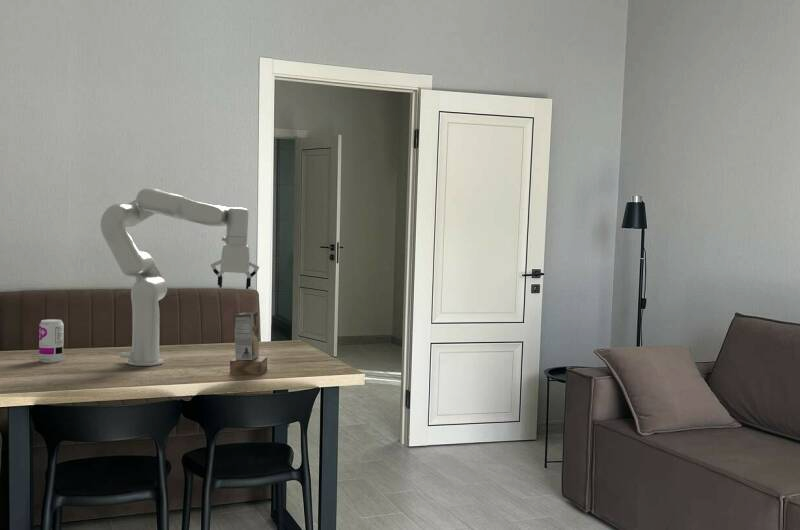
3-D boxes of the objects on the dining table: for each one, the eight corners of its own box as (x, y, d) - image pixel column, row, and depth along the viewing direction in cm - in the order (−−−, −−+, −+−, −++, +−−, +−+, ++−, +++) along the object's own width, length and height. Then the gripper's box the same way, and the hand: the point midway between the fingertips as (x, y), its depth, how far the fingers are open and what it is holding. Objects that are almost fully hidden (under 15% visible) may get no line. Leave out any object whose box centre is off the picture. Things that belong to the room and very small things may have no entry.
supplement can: (42, 363, 292) (43, 322, 291) (36, 360, 298) (36, 319, 297) (66, 361, 297) (66, 321, 296) (59, 358, 303) (59, 318, 303)
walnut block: (229, 374, 285) (230, 360, 285) (237, 369, 296) (237, 355, 296) (260, 375, 284) (261, 361, 284) (267, 370, 295) (267, 356, 295)
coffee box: (241, 356, 295) (240, 312, 294) (259, 356, 294) (258, 311, 293) (235, 360, 285) (233, 315, 285) (252, 360, 285) (251, 314, 284)
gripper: (211, 240, 291) (208, 287, 292) (259, 243, 293) (257, 290, 294) (213, 239, 298) (210, 286, 299) (261, 242, 300) (258, 288, 301)
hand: (233, 288), depth 297 cm, fingers open, 9 cm apart
